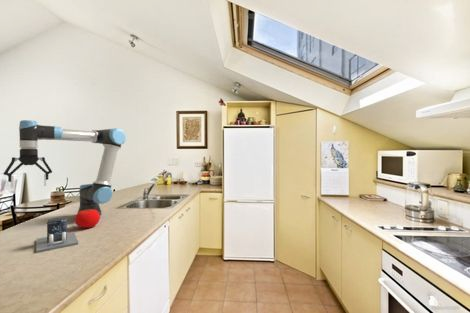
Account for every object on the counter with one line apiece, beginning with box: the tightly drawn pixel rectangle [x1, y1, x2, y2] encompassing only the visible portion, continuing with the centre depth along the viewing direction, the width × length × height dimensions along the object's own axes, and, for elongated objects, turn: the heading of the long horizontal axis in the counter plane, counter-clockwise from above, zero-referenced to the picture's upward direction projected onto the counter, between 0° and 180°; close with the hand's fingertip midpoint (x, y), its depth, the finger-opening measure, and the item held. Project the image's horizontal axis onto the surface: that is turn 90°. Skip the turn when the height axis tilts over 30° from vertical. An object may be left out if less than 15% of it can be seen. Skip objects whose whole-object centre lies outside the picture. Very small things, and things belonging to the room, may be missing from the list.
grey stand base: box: [35, 231, 79, 254], centre depth 119 cm, size 16×20×6 cm
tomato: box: [74, 209, 101, 229], centre depth 144 cm, size 12×13×11 cm
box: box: [46, 216, 68, 243], centre depth 119 cm, size 8×6×11 cm
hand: (29, 186), depth 130 cm, fingers open, 13 cm apart
